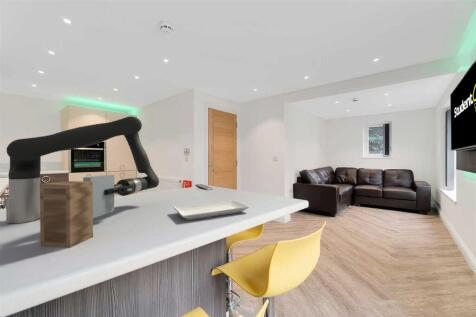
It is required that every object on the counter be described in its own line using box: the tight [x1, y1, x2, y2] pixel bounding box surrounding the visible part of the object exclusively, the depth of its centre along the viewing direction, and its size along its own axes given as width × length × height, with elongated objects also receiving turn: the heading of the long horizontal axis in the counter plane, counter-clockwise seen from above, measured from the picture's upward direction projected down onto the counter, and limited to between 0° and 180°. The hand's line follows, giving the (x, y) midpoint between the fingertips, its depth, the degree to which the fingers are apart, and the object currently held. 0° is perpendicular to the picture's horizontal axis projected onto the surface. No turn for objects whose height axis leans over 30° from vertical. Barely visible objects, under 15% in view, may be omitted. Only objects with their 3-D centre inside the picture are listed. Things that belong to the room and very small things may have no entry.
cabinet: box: [39, 180, 94, 248], centre depth 68 cm, size 12×12×18 cm
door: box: [82, 174, 115, 219], centre depth 83 cm, size 12×3×15 cm, turn 172°
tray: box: [173, 199, 250, 221], centre depth 99 cm, size 17×32×4 cm, turn 119°
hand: (101, 192), depth 84 cm, fingers closed on door, 3 cm apart
